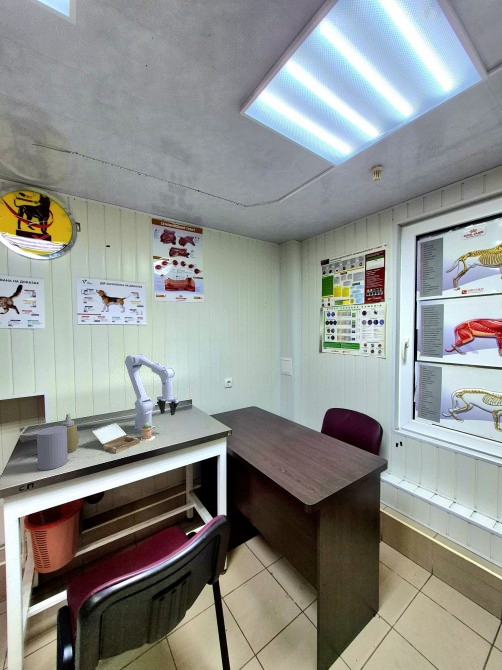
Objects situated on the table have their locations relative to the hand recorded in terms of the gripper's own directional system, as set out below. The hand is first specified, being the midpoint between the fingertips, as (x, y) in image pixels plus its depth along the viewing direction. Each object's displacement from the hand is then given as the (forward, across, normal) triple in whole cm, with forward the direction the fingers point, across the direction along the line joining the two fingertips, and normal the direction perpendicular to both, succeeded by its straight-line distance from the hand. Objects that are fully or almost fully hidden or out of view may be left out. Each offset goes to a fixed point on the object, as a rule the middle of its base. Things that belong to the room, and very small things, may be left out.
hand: (167, 414), depth 149 cm
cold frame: (+10, -9, -23) cm, 27 cm away
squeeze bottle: (+11, -25, -39) cm, 48 cm away
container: (+11, -18, -49) cm, 53 cm away
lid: (+5, -16, -24) cm, 29 cm away
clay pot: (+10, -4, -12) cm, 16 cm away
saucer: (+10, -3, -12) cm, 16 cm away
